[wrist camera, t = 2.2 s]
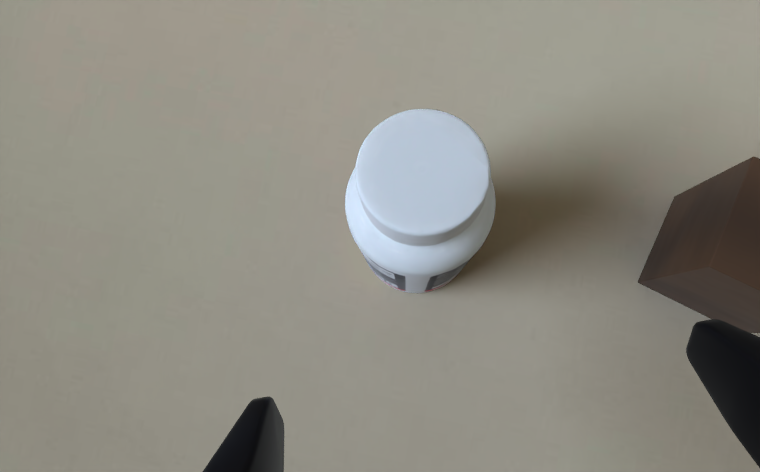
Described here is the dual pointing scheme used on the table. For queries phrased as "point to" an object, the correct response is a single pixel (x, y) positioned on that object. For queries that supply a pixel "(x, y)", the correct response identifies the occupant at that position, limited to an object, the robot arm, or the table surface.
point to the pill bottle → (420, 199)
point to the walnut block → (713, 248)
